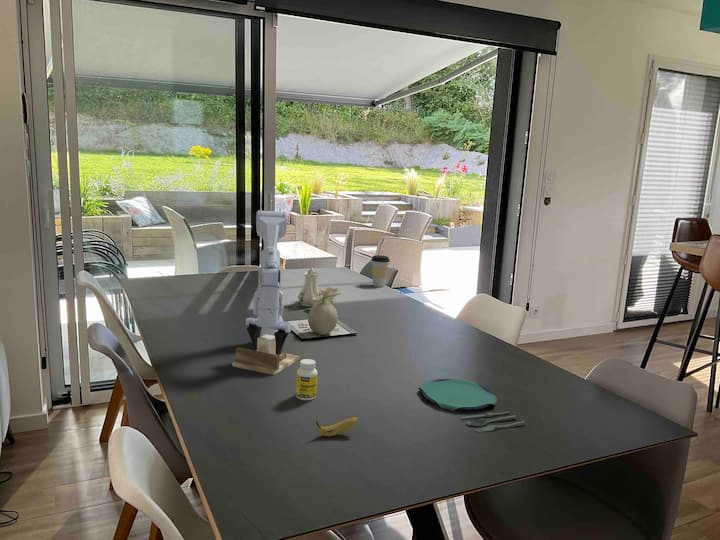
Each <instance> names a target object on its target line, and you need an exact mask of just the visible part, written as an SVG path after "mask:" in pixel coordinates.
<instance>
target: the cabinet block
mask: <svg viewBox="0 0 720 540" xmlns="http://www.w3.org/2000/svg"><path fill="white" fill-rule="evenodd" d="M275 350H276V341H275V336H273V335H267V334H266V335H264V336H261V337H259V338H257V350H256V351H259V352H264V353H269V354H274V355H277V354H276V352H275Z"/></svg>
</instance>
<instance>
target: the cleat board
mask: <svg viewBox="0 0 720 540" xmlns="http://www.w3.org/2000/svg"><path fill="white" fill-rule="evenodd" d="M234 353H235V356H234V357H235V361H233V362H232V363H231V364H232V365H231V366H232V367H235V368H239V369H244V370H248V371H253V372H257V373H262V374H267V375H271V376H275V375H277V374H278V373H280V372H281V371H283V370H285V369H286V368H288V367H290V366H291V365H293V364H295V363H296V362H298V361H299V360H300V359H301V356H300V355H296V354H291V353H286V352H282V351H281V353H280V354H278V355H274V354H269V353H264V352H259V351H257V350H254V349H249V348H243V347H236V348H235V352H234Z"/></svg>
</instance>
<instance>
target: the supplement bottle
mask: <svg viewBox="0 0 720 540" xmlns="http://www.w3.org/2000/svg"><path fill="white" fill-rule="evenodd" d="M299 366H300V367H299V368H297V371H296V384H295V385H296V387H295V397H296V398H297V399H298V400H301V401H312V400H314V399H316V397H317V390H318V389H317V387H318V370H317V369H316V360H314V359H311V358H305V359H304V358H303V359H301V360H300V361H299Z"/></svg>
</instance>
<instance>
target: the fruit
mask: <svg viewBox="0 0 720 540" xmlns="http://www.w3.org/2000/svg"><path fill="white" fill-rule="evenodd" d="M335 295H336V296H338V295H342V293H341V292H340V293H337V294H334V295H329V296H326V297H323V298H321V299H320V301H321V300H322V302H320V301H319V302H318V303H317V304H315V305H314V306H313V307H310V309H309V312H308V315H307V322H308V326H309V329H310V330H311V331H312V332H313V333H315V334H318V335H321V336H323V335H328V334H330V333H332V332H333V331H334V329H336V327H337V323H338V317H339V316H338V312H337V309H336V308H335V306H334V305H332V304H331V303H327V302H324V300H325V299H326V298H328V297H331V296H335Z"/></svg>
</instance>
